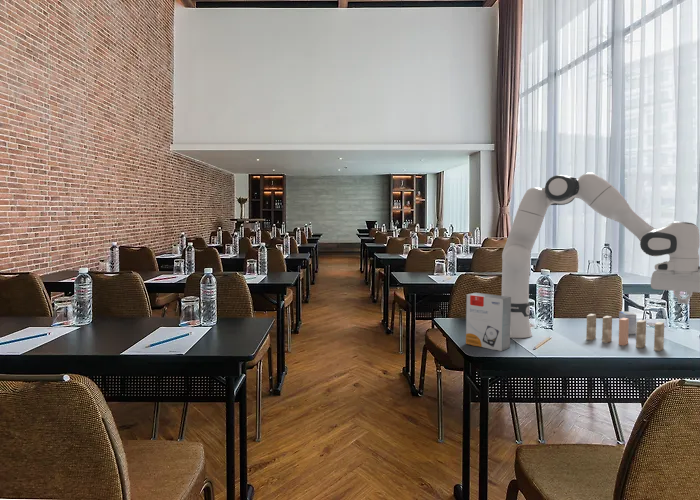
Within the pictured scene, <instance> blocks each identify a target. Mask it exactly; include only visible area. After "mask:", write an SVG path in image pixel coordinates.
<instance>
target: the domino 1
mask: <svg viewBox="0 0 700 500" xmlns="http://www.w3.org/2000/svg"><path fill="white" fill-rule="evenodd" d="M585 338H586V340H587V341H593V340H595V339H596V338H597V314H595V313H589V314H588V315H586V337H585Z"/></svg>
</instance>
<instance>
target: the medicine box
mask: <svg viewBox="0 0 700 500" xmlns="http://www.w3.org/2000/svg"><path fill="white" fill-rule="evenodd" d="M618 314H619V315H618V320H619V319H622V318H629V331H628V335H636V327H637V314H635V313H633V312H631V311H618Z"/></svg>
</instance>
